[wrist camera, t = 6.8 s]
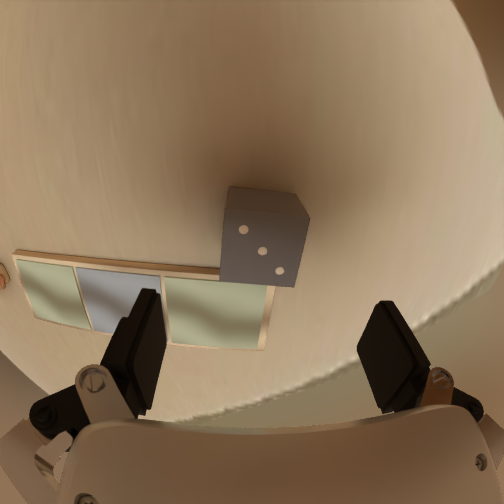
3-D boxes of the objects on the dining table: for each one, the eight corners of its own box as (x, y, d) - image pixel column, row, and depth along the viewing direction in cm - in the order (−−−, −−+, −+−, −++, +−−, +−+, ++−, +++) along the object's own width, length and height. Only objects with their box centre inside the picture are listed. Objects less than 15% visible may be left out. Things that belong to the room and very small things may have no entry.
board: (16, 249, 21) (10, 255, 20) (275, 272, 23) (276, 280, 22) (38, 313, 26) (34, 319, 25) (262, 344, 28) (263, 352, 27)
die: (229, 186, 20) (224, 209, 15) (295, 193, 20) (310, 218, 16) (223, 246, 22) (218, 282, 18) (284, 252, 23) (294, 288, 18)
